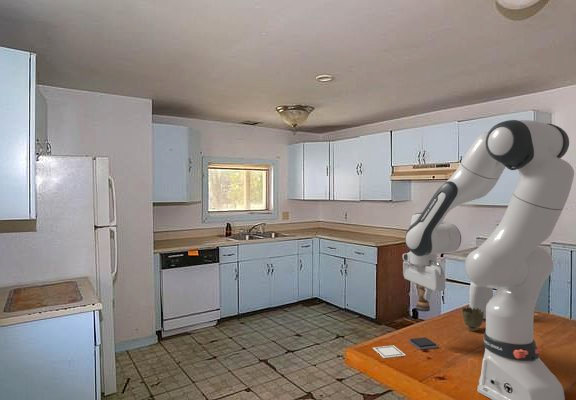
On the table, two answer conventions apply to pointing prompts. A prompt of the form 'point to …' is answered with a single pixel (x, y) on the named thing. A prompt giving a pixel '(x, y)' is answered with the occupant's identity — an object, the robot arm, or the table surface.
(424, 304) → the stamp
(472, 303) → the soap bottle
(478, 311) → the cup
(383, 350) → the white flat square plate
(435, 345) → the ink pad
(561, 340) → the table surface
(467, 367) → the table surface
